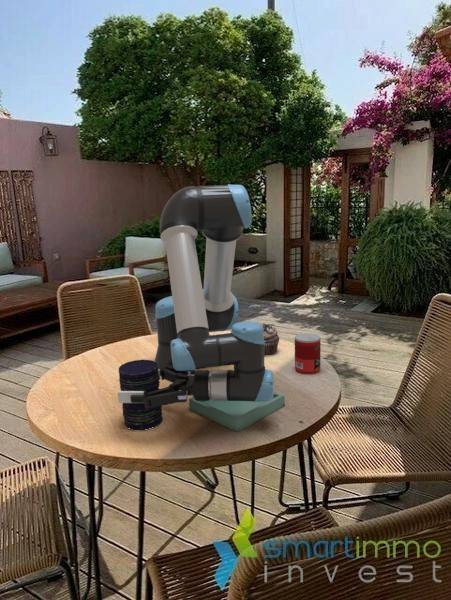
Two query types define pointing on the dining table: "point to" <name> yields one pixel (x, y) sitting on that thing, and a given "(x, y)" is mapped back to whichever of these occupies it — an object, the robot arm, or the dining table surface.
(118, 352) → the dining table surface
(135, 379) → the dark blue ribbed cylinder
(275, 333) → the cupcake
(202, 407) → the tray
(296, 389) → the dining table surface
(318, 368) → the canned food
